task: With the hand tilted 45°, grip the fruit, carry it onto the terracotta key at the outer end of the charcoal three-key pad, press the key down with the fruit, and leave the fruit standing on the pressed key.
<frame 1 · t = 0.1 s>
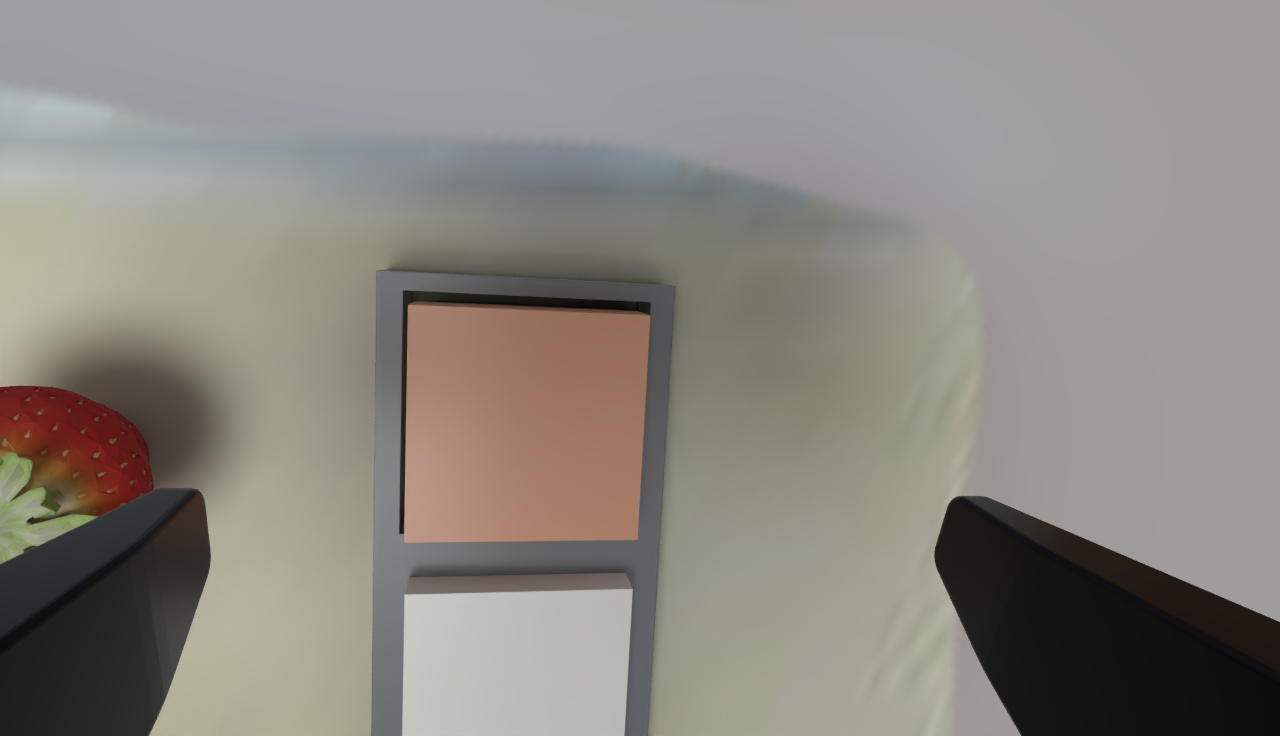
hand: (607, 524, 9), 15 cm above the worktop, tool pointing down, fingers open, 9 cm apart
fruit: (114, 447, 23), on the worktop
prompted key: (526, 420, 22), point 2 cm above the worktop, slide at 0.0 cm
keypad: (515, 621, 25), on the worktop
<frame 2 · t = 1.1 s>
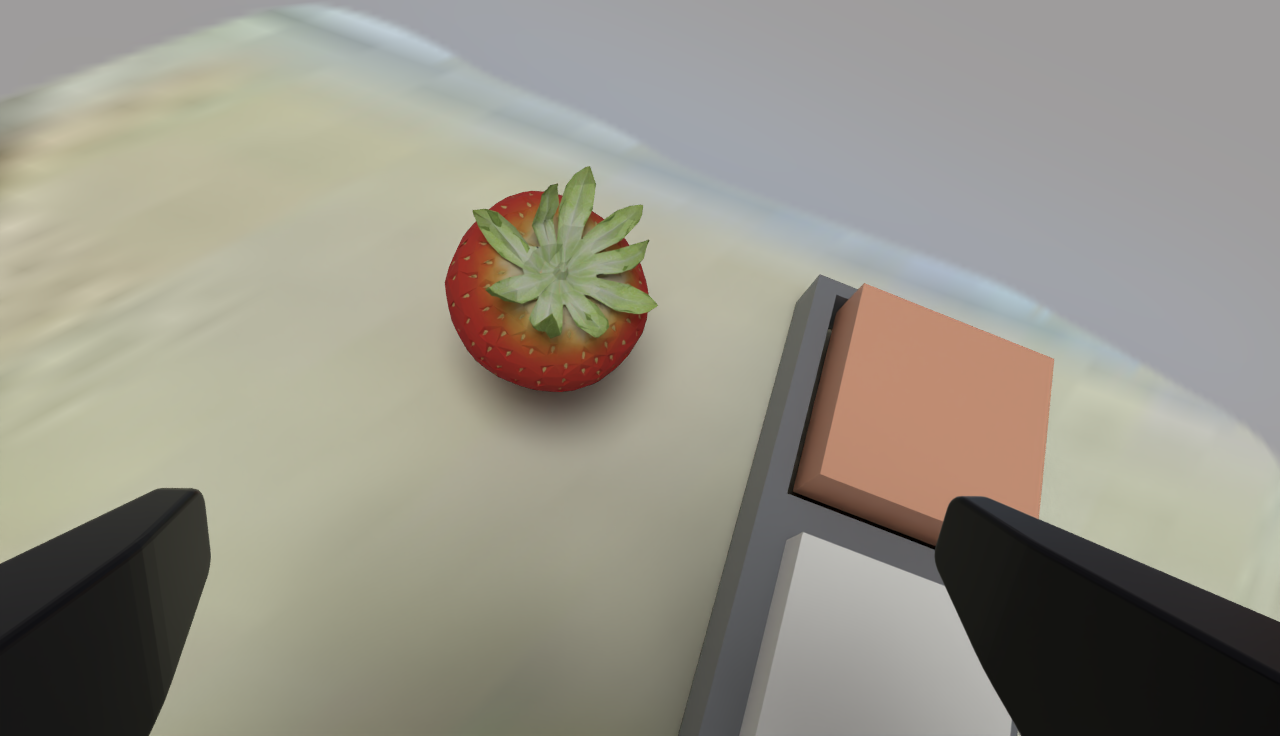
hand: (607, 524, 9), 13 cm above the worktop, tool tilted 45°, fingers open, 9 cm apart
fruit: (534, 361, 24), on the worktop
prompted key: (926, 423, 23), point 2 cm above the worktop, slide at 0.0 cm
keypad: (843, 670, 22), on the worktop
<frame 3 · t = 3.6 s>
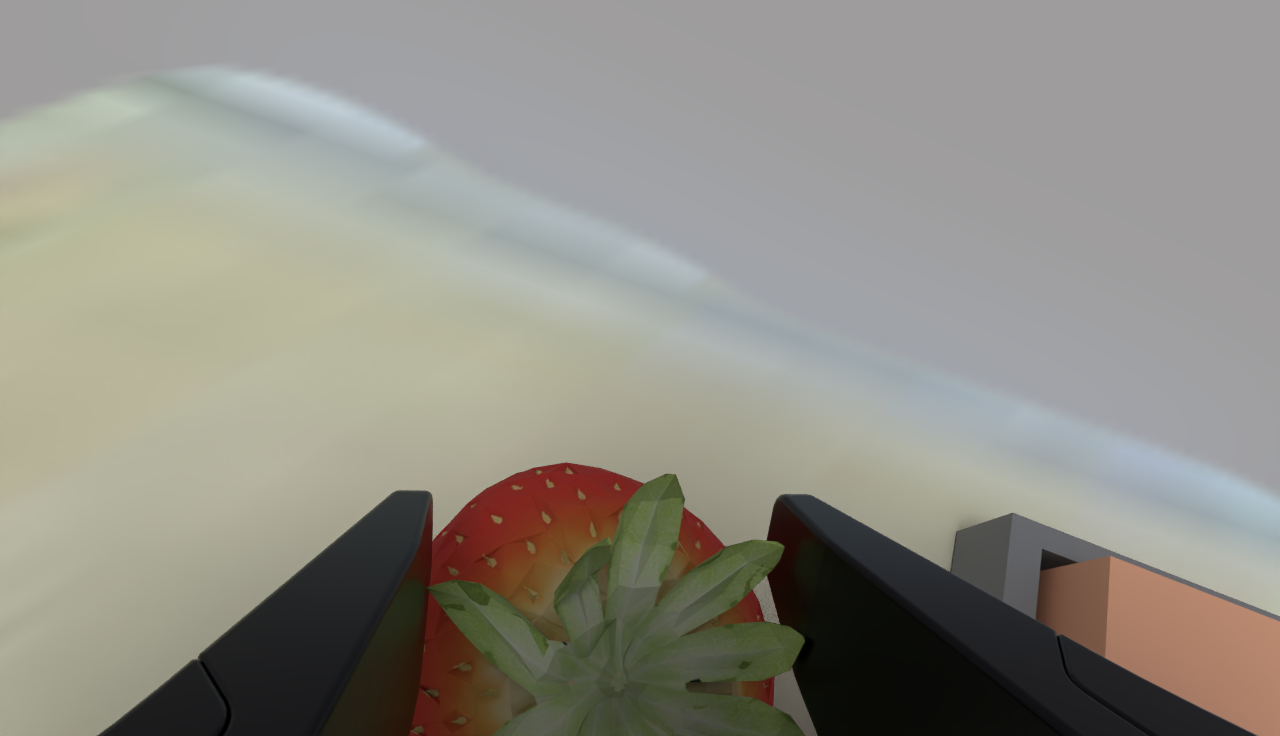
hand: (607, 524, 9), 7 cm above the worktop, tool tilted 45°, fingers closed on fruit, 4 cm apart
fruit: (554, 667, 15), on the worktop, touching gripper
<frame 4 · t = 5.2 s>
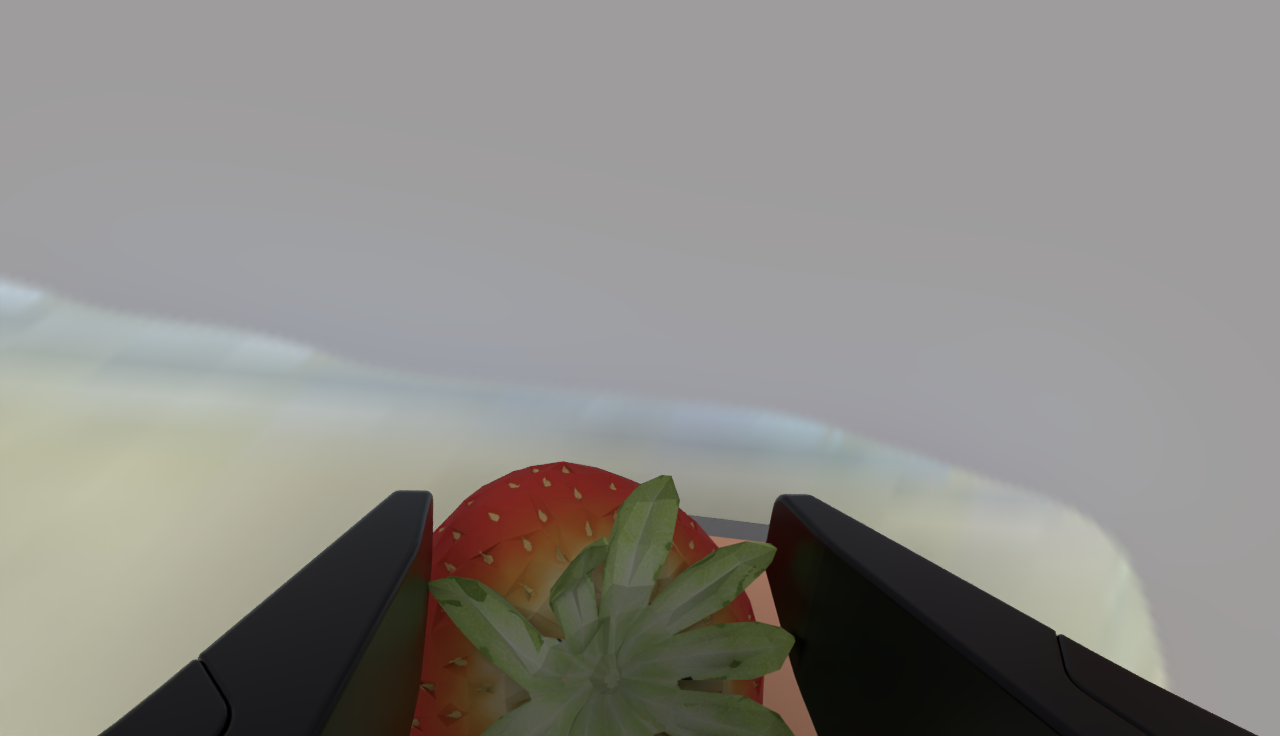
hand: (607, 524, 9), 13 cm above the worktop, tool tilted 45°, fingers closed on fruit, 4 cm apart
fruit: (546, 662, 15), point 6 cm above the worktop, touching gripper
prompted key: (694, 672, 19), point 3 cm above the worktop, slide at 0.0 cm
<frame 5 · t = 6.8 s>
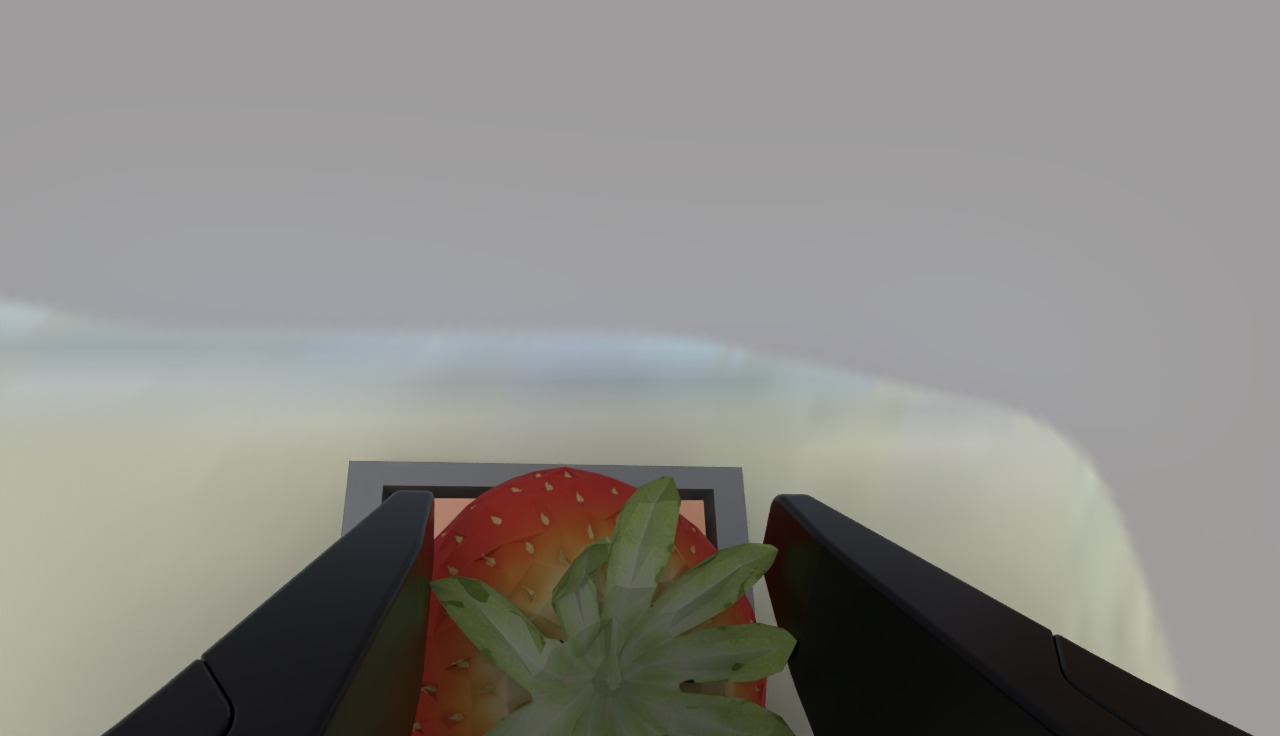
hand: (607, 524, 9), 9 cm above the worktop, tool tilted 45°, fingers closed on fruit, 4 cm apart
fruit: (547, 674, 15), point 2 cm above the worktop, touching gripper, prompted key
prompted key: (550, 664, 16), point 1 cm above the worktop, slide at 1.3 cm, touching fruit
when the fingers open (9 cm above the worktop, at t = 6.9 s): fruit stays where it is, resting on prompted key.
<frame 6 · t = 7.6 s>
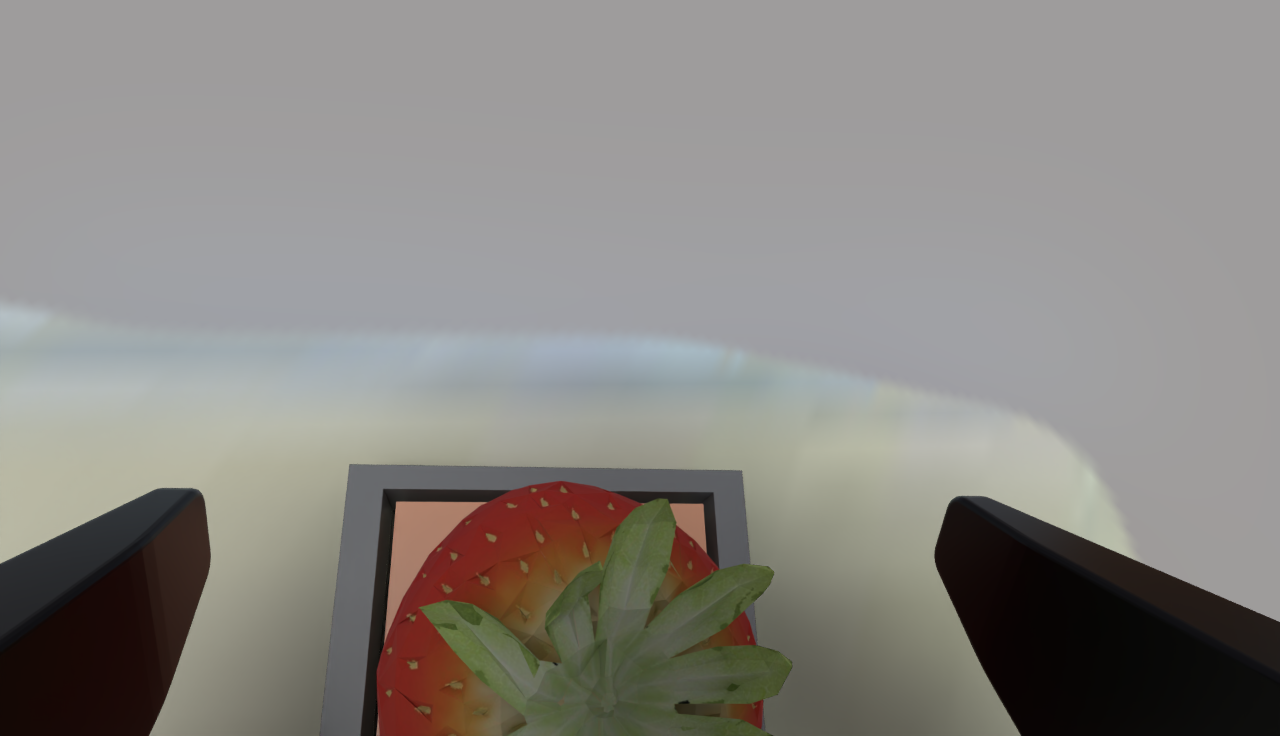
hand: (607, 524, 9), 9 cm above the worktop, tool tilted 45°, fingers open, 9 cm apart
fruit: (547, 677, 15), point 2 cm above the worktop, touching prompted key
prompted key: (550, 668, 16), point 1 cm above the worktop, slide at 1.3 cm, touching fruit
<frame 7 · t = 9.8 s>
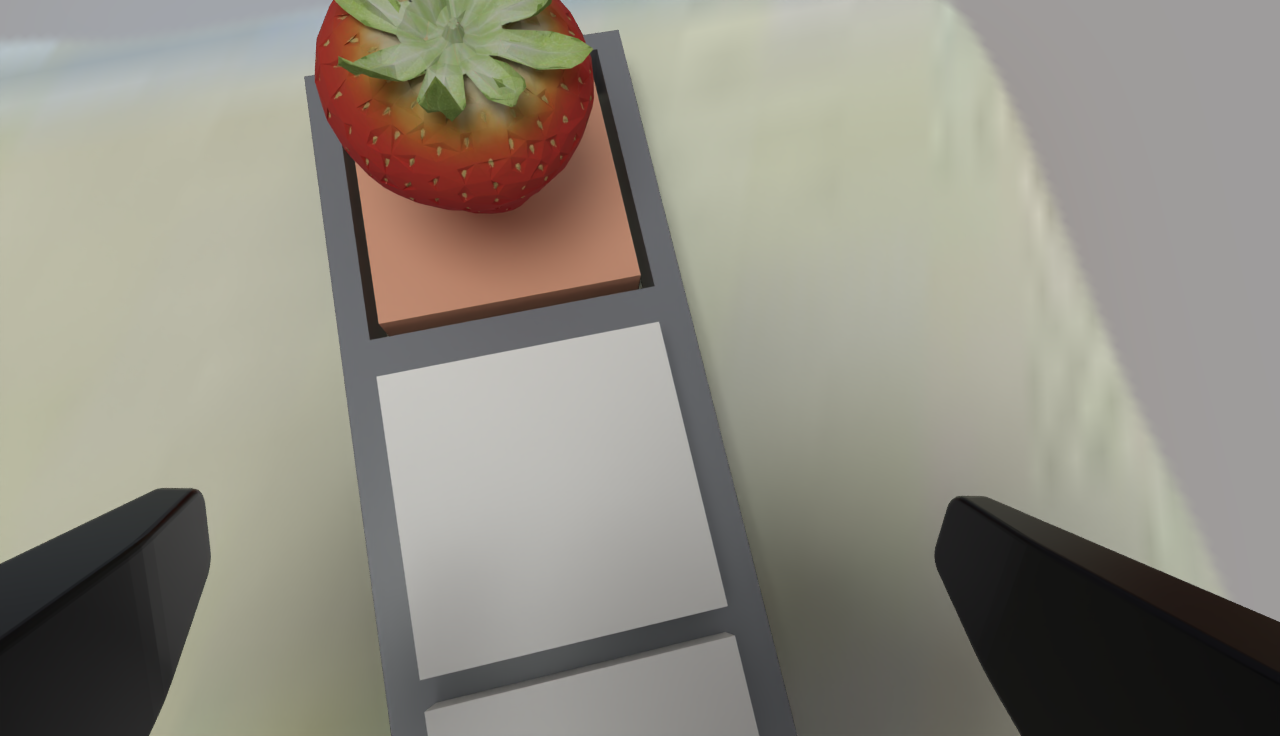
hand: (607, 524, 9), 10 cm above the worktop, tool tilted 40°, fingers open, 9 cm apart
fruit: (487, 193, 20), point 2 cm above the worktop, touching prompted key
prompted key: (494, 200, 20), point 1 cm above the worktop, slide at 1.3 cm, touching fruit
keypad: (548, 473, 20), on the worktop
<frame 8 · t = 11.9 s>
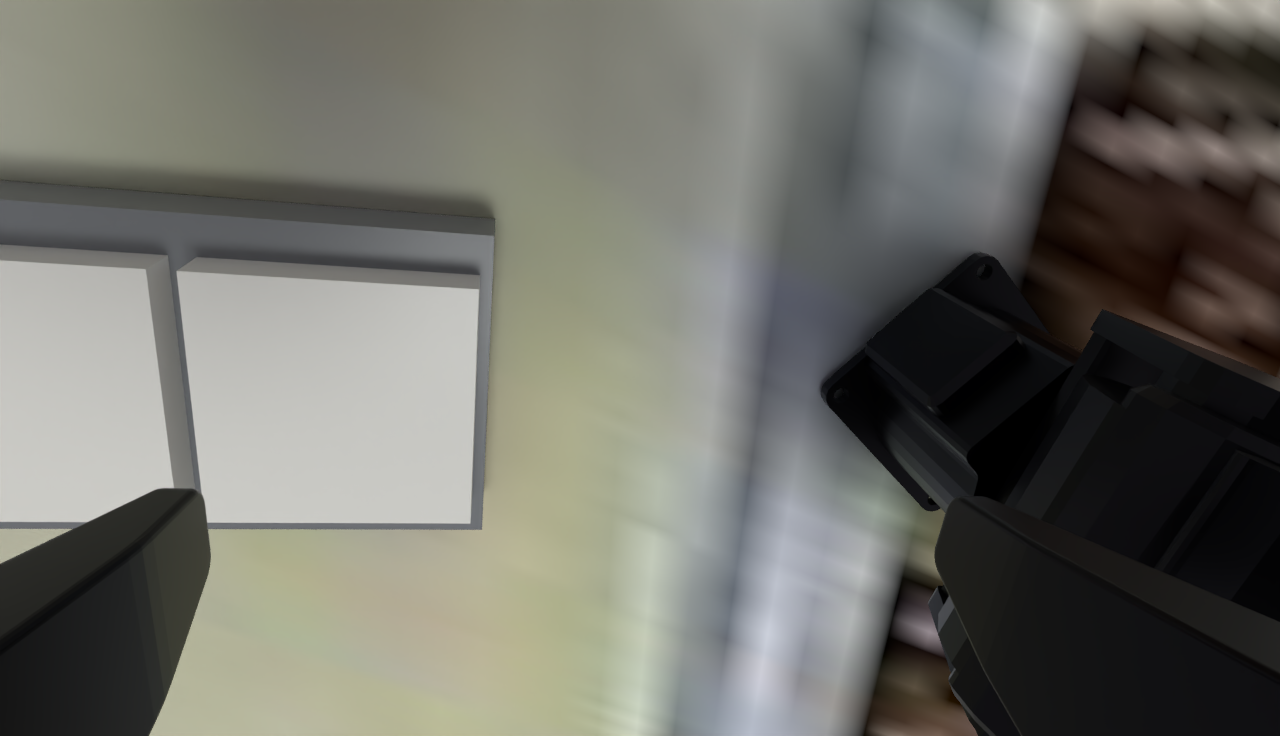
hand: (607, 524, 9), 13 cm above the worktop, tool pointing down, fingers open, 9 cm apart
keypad: (44, 346, 20), on the worktop
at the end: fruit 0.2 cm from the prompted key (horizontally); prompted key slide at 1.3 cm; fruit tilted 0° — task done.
